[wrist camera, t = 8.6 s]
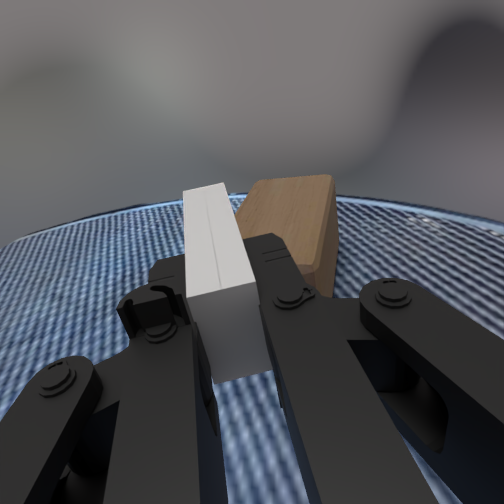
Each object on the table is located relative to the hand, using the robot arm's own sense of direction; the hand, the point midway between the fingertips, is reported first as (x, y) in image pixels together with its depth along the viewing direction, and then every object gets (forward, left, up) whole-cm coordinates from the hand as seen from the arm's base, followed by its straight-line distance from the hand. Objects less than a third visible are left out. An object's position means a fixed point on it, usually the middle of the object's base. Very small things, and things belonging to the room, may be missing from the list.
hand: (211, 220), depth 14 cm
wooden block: (0, +12, -15) cm, 19 cm away
